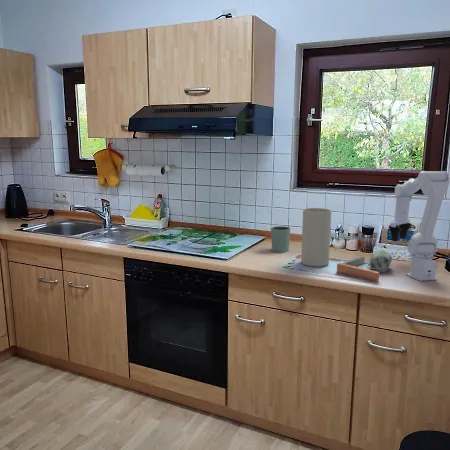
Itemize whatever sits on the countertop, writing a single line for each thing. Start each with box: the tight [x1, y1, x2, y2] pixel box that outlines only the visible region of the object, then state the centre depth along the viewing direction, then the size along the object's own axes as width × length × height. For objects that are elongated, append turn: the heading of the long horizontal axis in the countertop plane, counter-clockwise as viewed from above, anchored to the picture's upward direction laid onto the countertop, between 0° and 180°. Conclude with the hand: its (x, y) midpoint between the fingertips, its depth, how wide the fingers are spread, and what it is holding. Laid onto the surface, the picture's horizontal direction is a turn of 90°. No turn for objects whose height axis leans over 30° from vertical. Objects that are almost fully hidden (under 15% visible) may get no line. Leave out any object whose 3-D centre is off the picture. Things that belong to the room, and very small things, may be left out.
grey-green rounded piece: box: [369, 249, 393, 273], centre depth 184 cm, size 14×10×10 cm
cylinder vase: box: [300, 207, 332, 268], centre depth 191 cm, size 12×12×25 cm
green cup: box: [270, 225, 291, 253], centre depth 217 cm, size 10×10×12 cm
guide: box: [336, 256, 380, 284], centre depth 180 cm, size 23×19×4 cm
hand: (398, 239), depth 194 cm, fingers open, 7 cm apart
